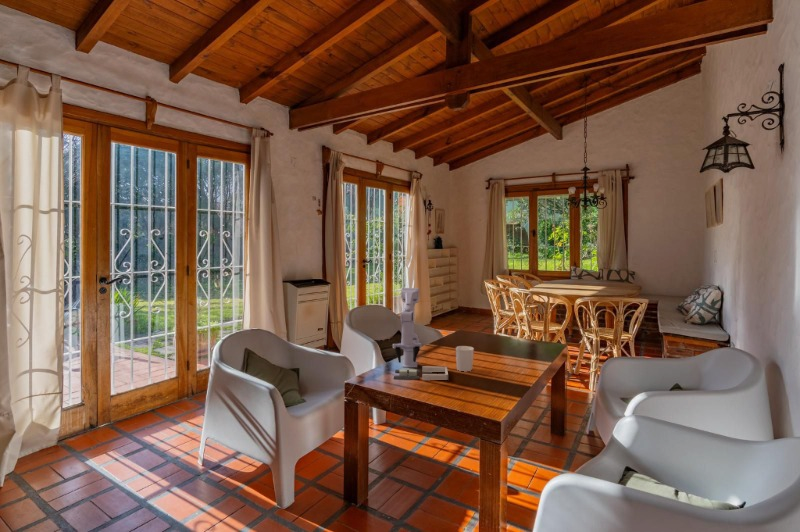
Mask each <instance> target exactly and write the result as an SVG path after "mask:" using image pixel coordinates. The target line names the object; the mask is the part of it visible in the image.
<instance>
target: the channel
mask: <svg viewBox="0 0 800 532" xmlns="http://www.w3.org/2000/svg"><path fill="white" fill-rule="evenodd" d="M399 370H400V369H395V370H394V373H395V374H399ZM420 372H421V371H420V369H417V374H420ZM407 374H409V369H407ZM393 379H394V380H412V379H419V380H420V376H419V375H417V376H409V375H407V376H399V375H393Z"/></svg>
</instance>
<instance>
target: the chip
mask: <svg viewBox="0 0 800 532" xmlns="http://www.w3.org/2000/svg"><path fill="white" fill-rule="evenodd" d="M408 370H409V373H408V376H418V373H417V370H418V369H417V368H416V369H415V368H412V369H411V368H410V369H408Z"/></svg>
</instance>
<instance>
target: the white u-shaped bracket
mask: <svg viewBox="0 0 800 532" xmlns="http://www.w3.org/2000/svg"><path fill="white" fill-rule="evenodd" d="M421 367H422V368H421V369H422V372H421V373H422V375H421V376H422V381H430V380H448V381H449V373H448V367H447V366H434V365H433V366H429V365H428V366H423V365H422V366H421ZM432 372H445V373H438V374H437V373H432Z"/></svg>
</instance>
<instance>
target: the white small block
mask: <svg viewBox="0 0 800 532" xmlns="http://www.w3.org/2000/svg"><path fill="white" fill-rule="evenodd" d="M398 370H399V373H398V376H408V373H407V370H408V369H407V368H399V369H398Z"/></svg>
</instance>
